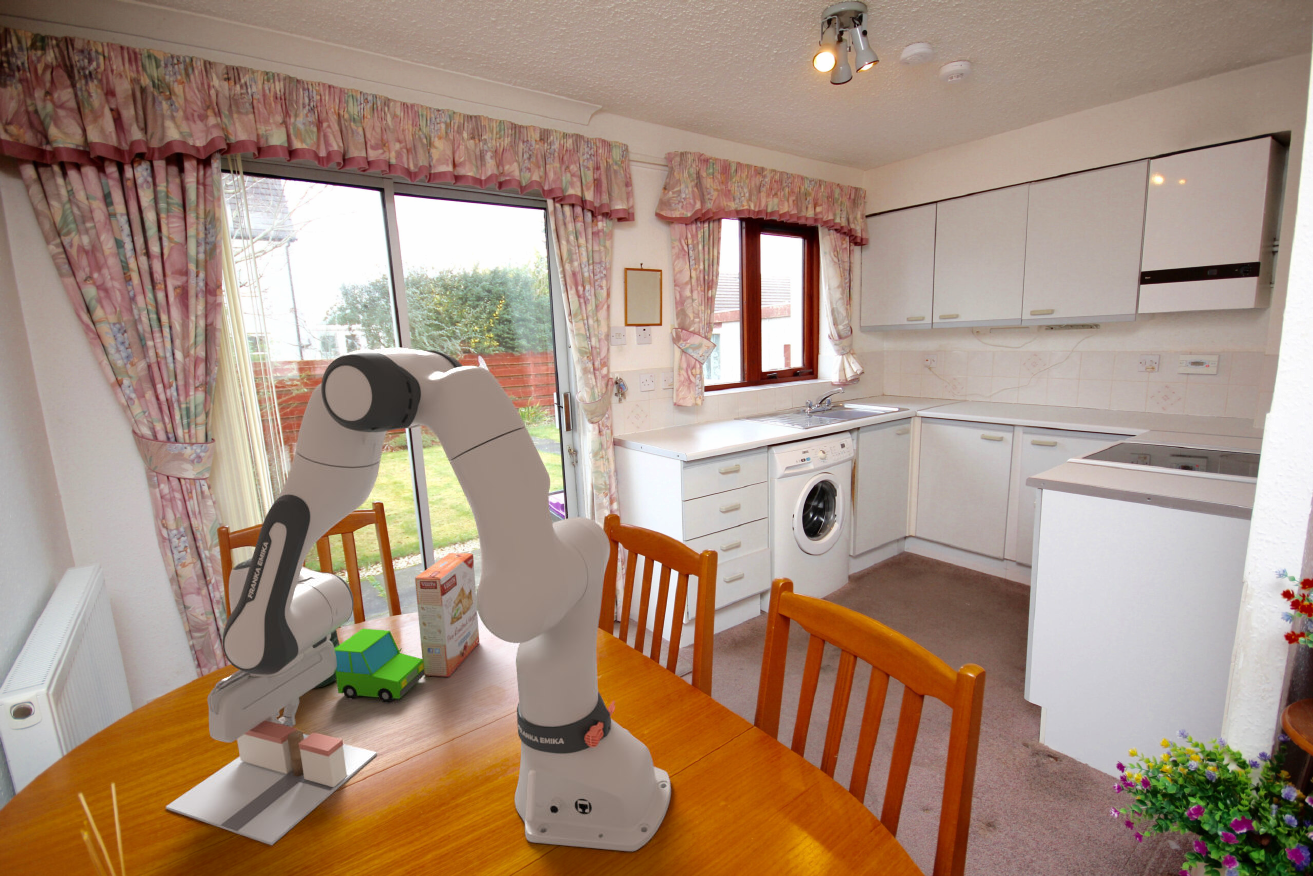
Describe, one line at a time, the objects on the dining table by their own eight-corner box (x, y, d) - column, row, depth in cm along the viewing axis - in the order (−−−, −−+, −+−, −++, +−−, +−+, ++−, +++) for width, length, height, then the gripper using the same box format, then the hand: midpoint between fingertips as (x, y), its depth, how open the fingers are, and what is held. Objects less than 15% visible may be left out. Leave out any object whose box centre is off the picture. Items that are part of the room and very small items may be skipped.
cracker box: (451, 678, 115) (441, 578, 112) (422, 676, 116) (412, 577, 113) (482, 642, 129) (474, 552, 125) (456, 641, 130) (448, 551, 126)
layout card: (376, 754, 94) (376, 751, 94) (271, 845, 77) (271, 842, 77) (281, 730, 101) (281, 727, 101) (166, 809, 84) (165, 805, 84)
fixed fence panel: (347, 775, 89) (342, 739, 88) (332, 788, 86) (327, 751, 85) (318, 767, 90) (313, 732, 90) (303, 779, 88) (298, 743, 87)
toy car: (398, 709, 106) (392, 658, 104) (335, 702, 109) (328, 652, 107) (430, 677, 116) (425, 630, 114) (371, 672, 119) (366, 626, 117)
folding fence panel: (301, 762, 92) (296, 728, 91) (286, 774, 89) (280, 738, 88) (255, 750, 95) (250, 716, 94) (240, 761, 93) (234, 726, 92)
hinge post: (311, 771, 91) (306, 732, 90) (300, 780, 89) (294, 740, 88) (302, 768, 91) (296, 729, 90) (290, 777, 90) (284, 737, 88)
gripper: (222, 692, 83) (237, 778, 85) (338, 625, 102) (347, 697, 105) (190, 685, 85) (205, 770, 87) (310, 621, 104) (320, 692, 106)
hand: (284, 729), depth 96 cm, fingers closed
